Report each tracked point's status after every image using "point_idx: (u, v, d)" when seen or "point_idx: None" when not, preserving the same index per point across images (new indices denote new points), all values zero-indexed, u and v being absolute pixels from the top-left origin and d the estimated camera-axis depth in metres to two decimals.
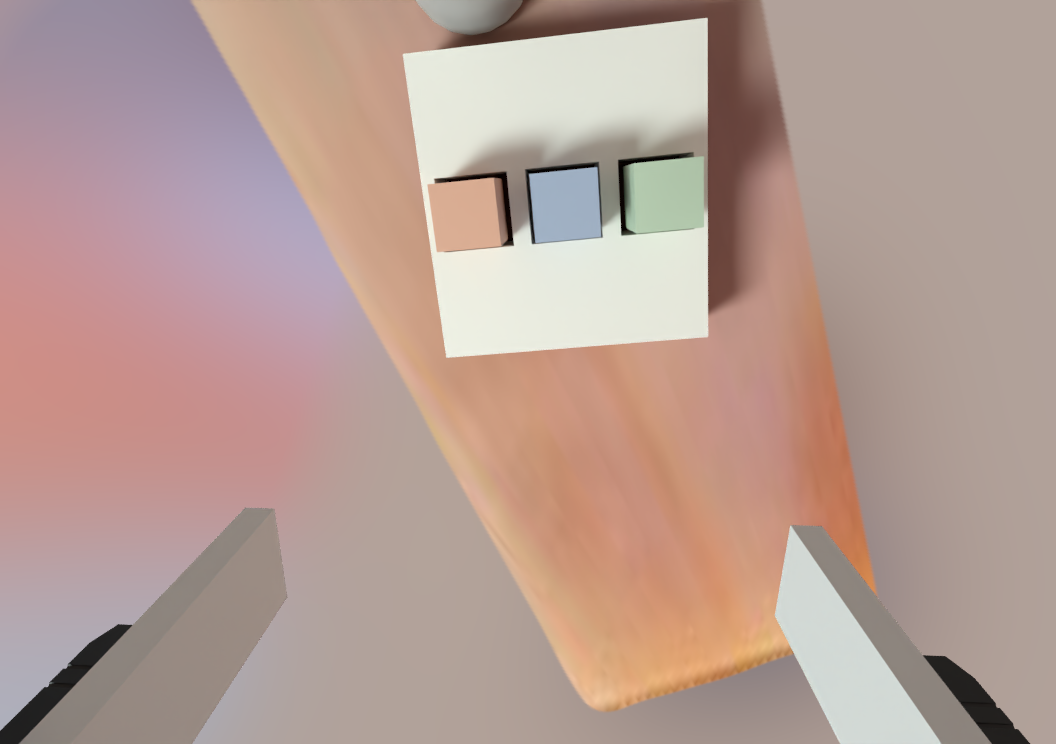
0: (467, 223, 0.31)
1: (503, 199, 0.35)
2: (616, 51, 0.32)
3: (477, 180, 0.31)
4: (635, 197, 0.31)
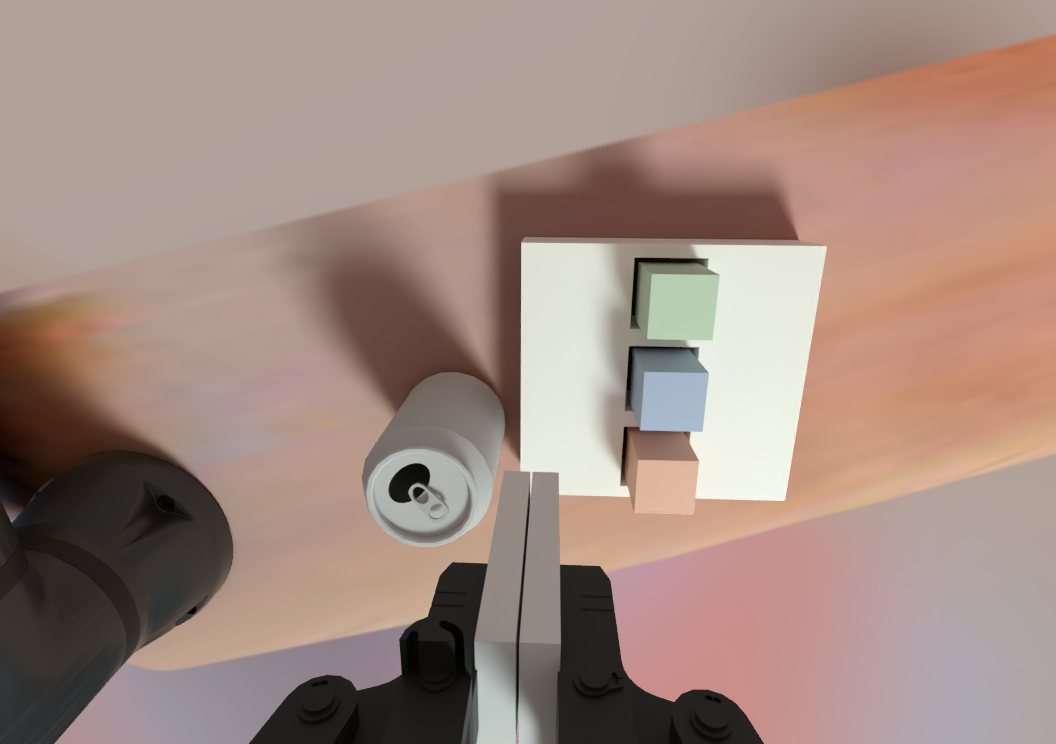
0: (673, 486, 0.35)
1: None
2: (539, 324, 0.36)
3: (638, 473, 0.34)
4: (678, 338, 0.32)
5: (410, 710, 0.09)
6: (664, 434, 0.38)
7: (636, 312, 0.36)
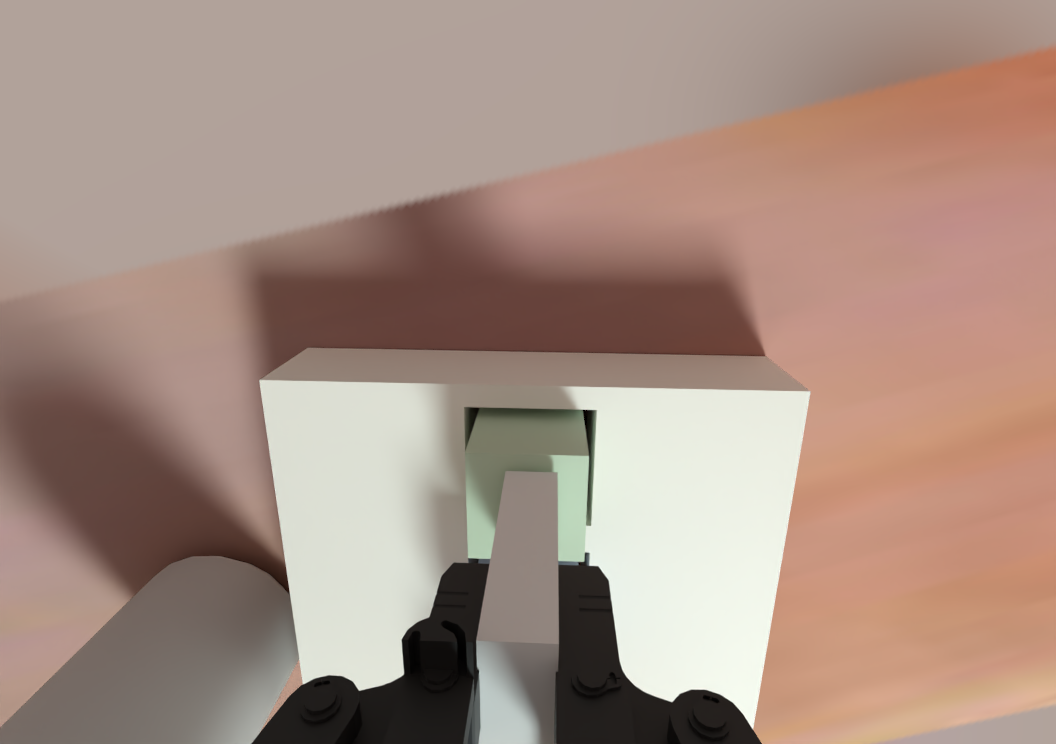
0: None
1: None
2: (309, 513, 0.21)
3: None
4: None
5: (412, 710, 0.09)
6: None
7: None
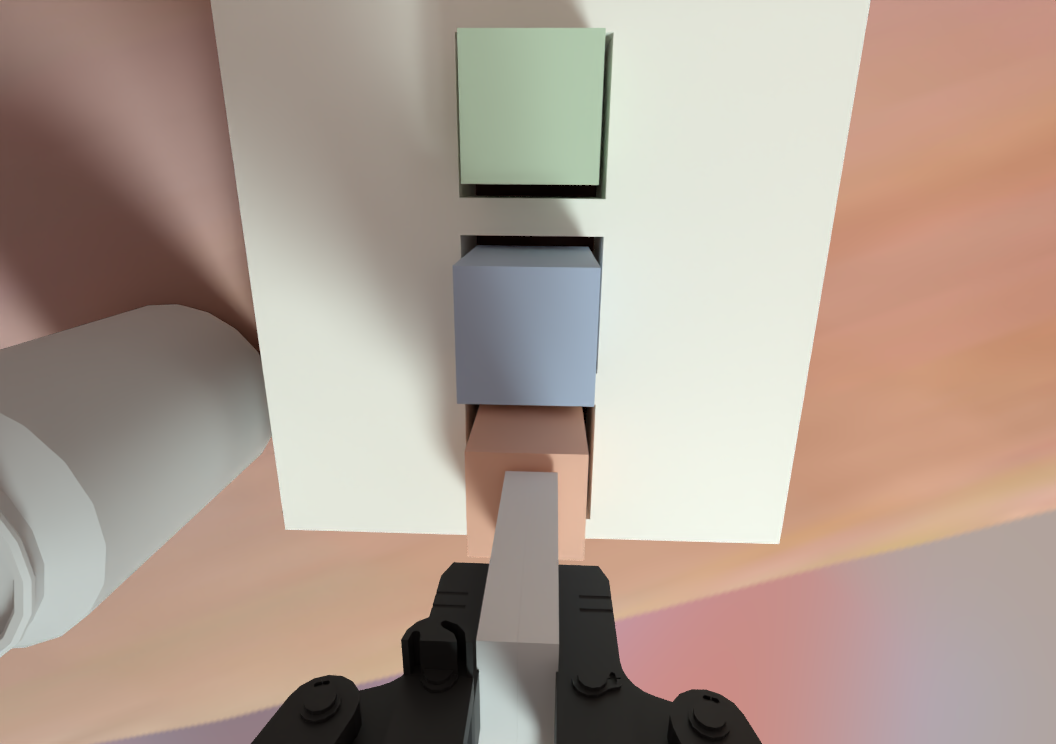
0: None
1: None
2: (273, 189, 0.17)
3: (467, 478, 0.17)
4: (526, 182, 0.15)
5: (412, 710, 0.09)
6: None
7: None
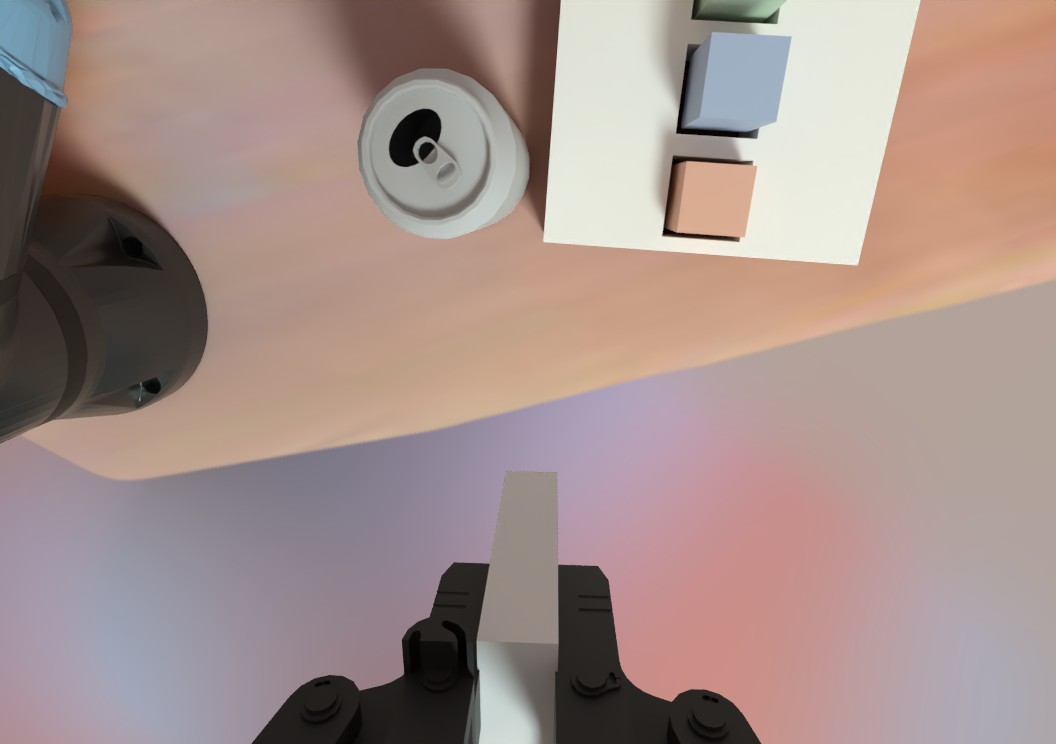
0: (724, 198, 0.30)
1: None
2: (582, 9, 0.30)
3: (685, 179, 0.30)
4: None
5: (412, 710, 0.09)
6: None
7: (693, 11, 0.32)
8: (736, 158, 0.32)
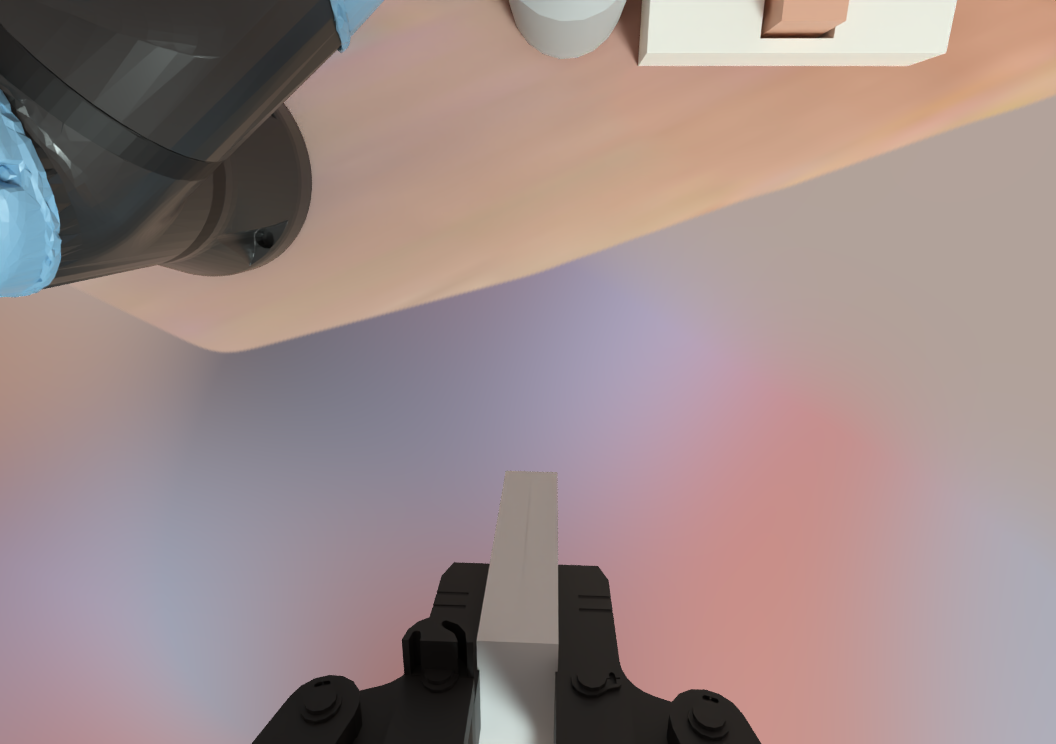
0: None
1: None
2: None
3: None
4: None
5: (412, 710, 0.09)
6: None
7: None
8: None
